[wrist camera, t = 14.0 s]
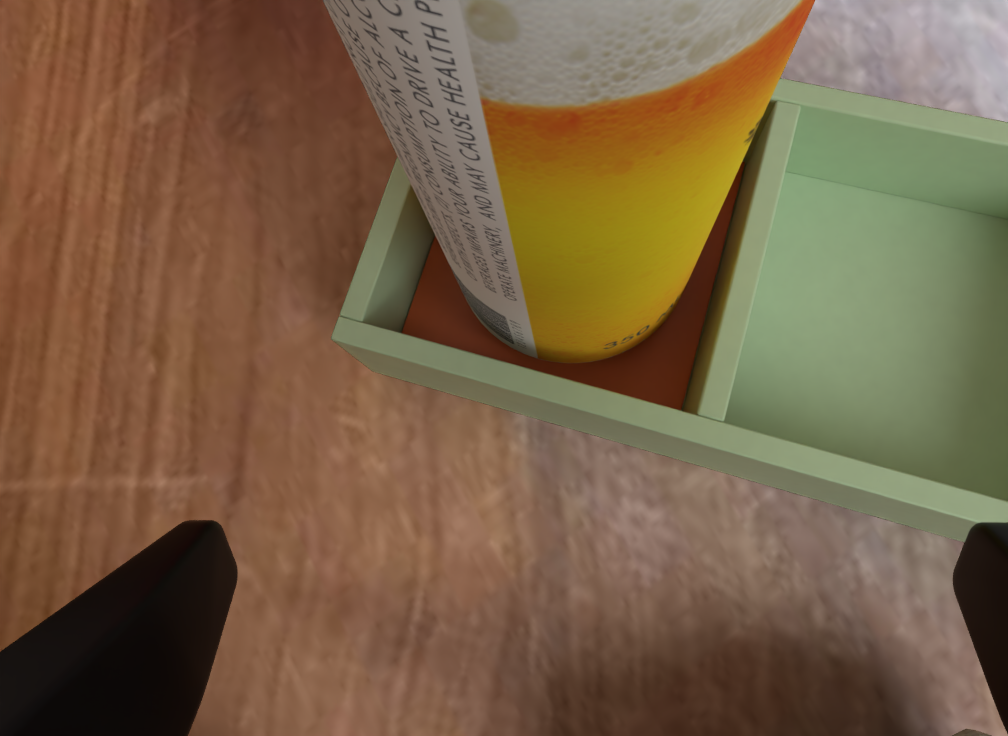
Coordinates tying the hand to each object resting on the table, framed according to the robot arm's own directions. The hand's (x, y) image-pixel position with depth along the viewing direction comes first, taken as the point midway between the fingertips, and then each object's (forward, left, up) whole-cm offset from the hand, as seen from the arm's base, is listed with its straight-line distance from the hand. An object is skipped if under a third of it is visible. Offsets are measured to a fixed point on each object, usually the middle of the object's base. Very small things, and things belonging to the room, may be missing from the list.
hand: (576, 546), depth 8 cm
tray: (+7, -2, -10) cm, 12 cm away
